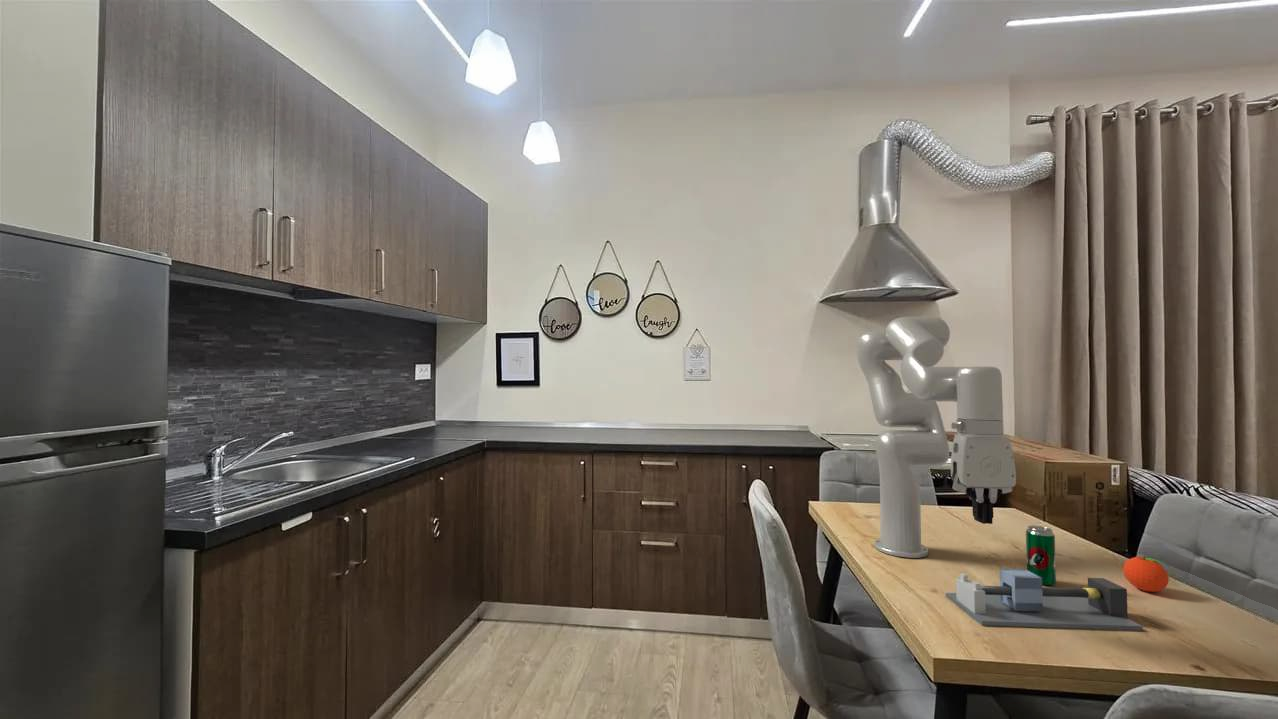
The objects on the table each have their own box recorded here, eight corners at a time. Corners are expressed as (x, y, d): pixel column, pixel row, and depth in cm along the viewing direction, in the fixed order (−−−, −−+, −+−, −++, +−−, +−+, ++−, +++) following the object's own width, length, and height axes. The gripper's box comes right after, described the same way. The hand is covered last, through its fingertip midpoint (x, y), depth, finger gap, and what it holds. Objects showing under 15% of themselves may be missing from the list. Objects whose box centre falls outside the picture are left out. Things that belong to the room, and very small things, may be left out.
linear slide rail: (981, 625, 91) (981, 591, 91) (945, 596, 103) (945, 566, 103) (1145, 630, 89) (1144, 596, 90) (1089, 600, 101) (1088, 570, 101)
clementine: (1165, 587, 108) (1164, 555, 108) (1184, 601, 101) (1182, 566, 102) (1117, 581, 111) (1116, 549, 111) (1132, 593, 105) (1131, 559, 105)
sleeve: (1015, 610, 94) (1014, 577, 95) (1000, 600, 99) (999, 568, 99) (1042, 611, 94) (1042, 578, 94) (1026, 601, 98) (1025, 569, 99)
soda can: (1061, 588, 107) (1060, 532, 108) (1035, 586, 108) (1033, 530, 109) (1047, 578, 112) (1045, 525, 113) (1022, 576, 113) (1020, 524, 114)
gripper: (951, 429, 95) (954, 526, 94) (1033, 430, 94) (1037, 528, 93) (931, 426, 102) (933, 516, 101) (1006, 427, 101) (1009, 517, 100)
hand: (983, 521), depth 97 cm, fingers closed
